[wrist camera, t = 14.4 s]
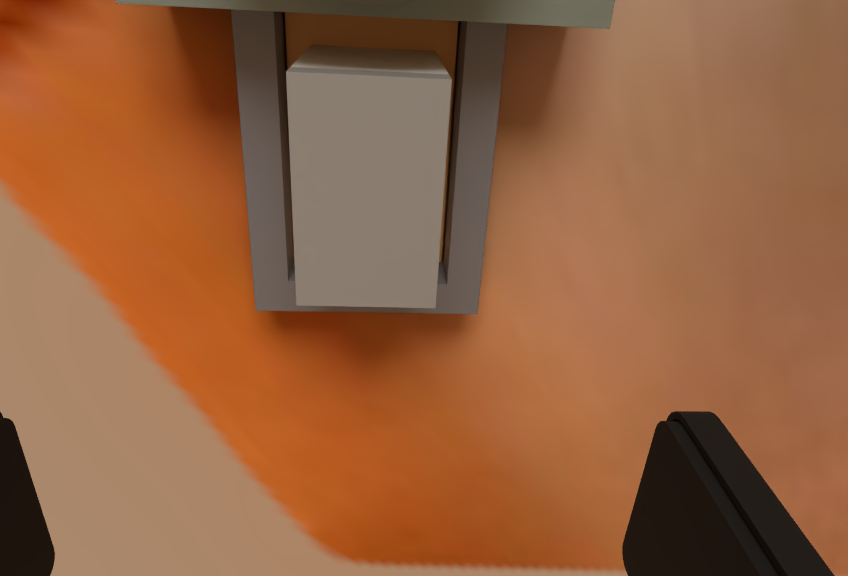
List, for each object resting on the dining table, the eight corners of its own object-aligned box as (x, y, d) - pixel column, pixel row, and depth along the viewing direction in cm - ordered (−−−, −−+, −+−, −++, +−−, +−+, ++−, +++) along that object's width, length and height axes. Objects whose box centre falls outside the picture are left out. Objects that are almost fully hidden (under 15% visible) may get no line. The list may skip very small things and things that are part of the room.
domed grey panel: (623, -350, 20) (752, -518, 13) (530, 290, 31) (573, 386, 24) (115, -400, 19) (-43, -614, 12) (201, 283, 30) (144, 383, 23)
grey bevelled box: (435, 51, 25) (451, 79, 19) (424, 234, 29) (435, 308, 23) (310, 44, 25) (285, 71, 19) (315, 231, 29) (296, 305, 22)
